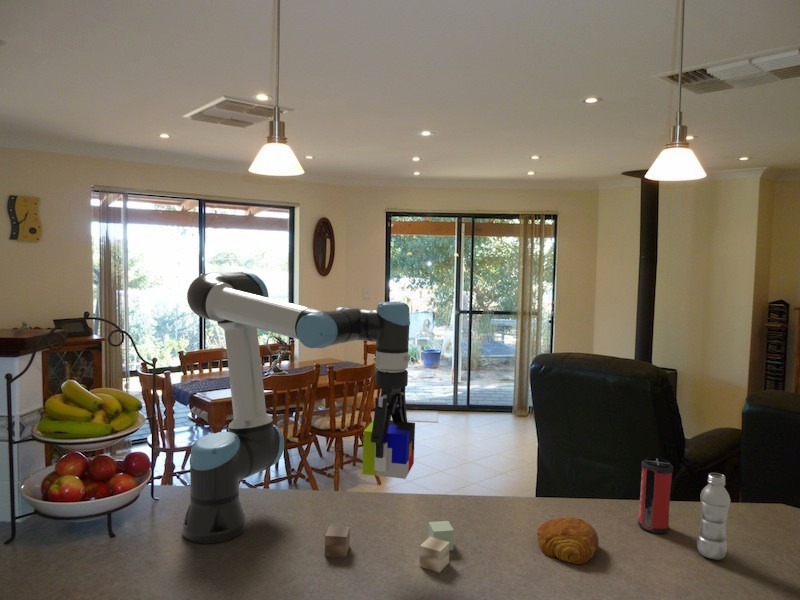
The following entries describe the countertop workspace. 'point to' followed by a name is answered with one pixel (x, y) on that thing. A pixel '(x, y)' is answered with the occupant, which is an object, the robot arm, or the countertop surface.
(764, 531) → the countertop surface
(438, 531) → the sage painted block
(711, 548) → the plastic bottle
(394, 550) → the countertop surface
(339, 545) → the brown wooden cube
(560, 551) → the croissant
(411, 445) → the puzzle toy
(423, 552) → the maple block
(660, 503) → the speaker
